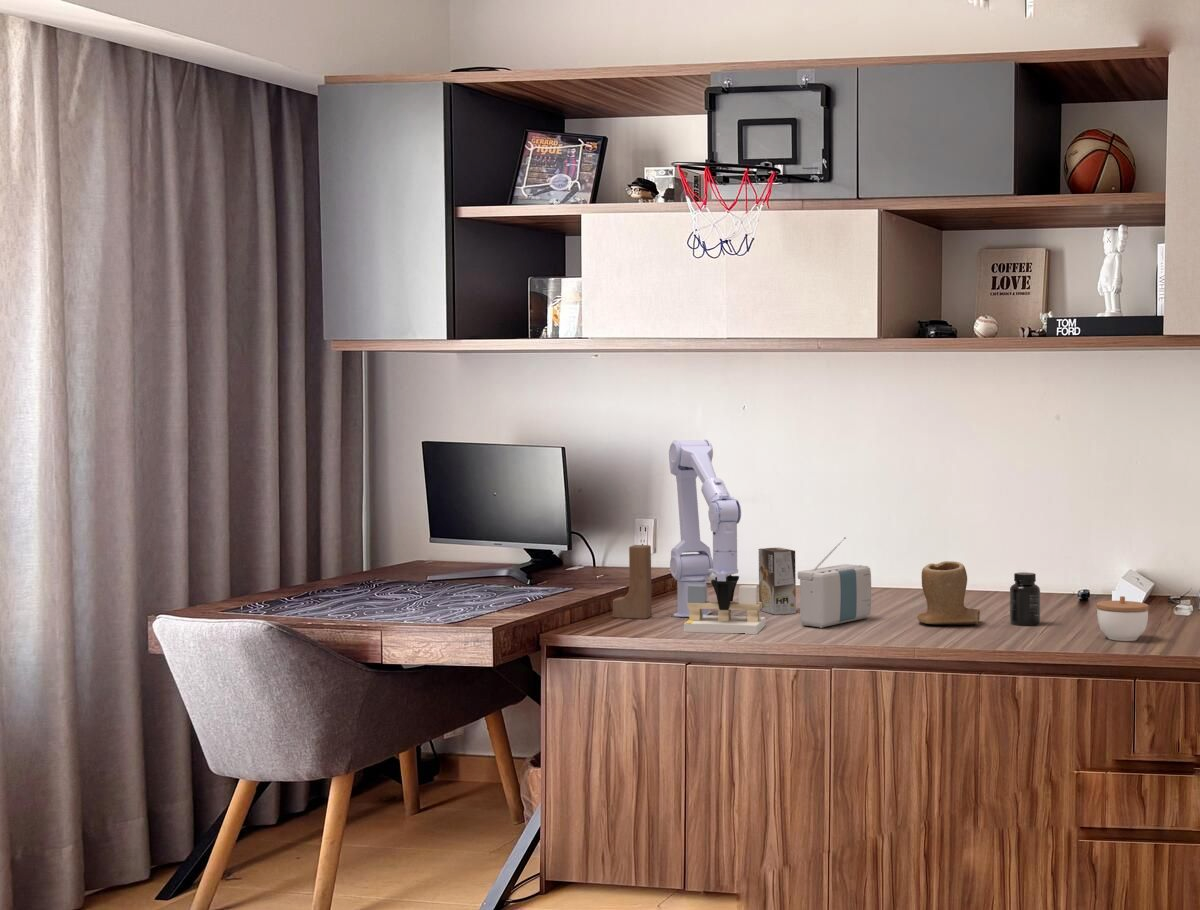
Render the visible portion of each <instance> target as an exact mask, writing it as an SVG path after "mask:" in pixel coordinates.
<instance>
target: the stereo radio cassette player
mask: <svg viewBox="0 0 1200 910" xmlns="http://www.w3.org/2000/svg"><path fill="white" fill-rule="evenodd" d="M846 539H847V537H846V536H844V537H843V539H842V540H841V541H840V542H838V543H837V545H836V546H835V547H833V549H831V550H830V551H829V552H828V553H827V555H826V556H824V558H822V559H821V561H820V562H819V563H818V564H817V565H816V566H815V567H814V568H812V569H806V570H800V571H797V579H798V580H799V603H800V605H799V607H800V609H799V611H800V612H799V613H800V614H799V615H800V616H799V617H800V619H799V620H800V622H801V625H802V626H804V627H806V626H808V627H815V628H819V629H823V628H826V627H830V626H834V625H839V624H843V623H847V622H848V623H849V622H854V621H858V620H865V619H867V617H868V616H871V613H872V572H871V568H870V566H868V565H862V564H861V565H860V564H849V563H848V564H847V563H845V564H844V563H843V564H837V565H831V566H825V567H820V566H821V565H822V564H823V563H824V562H825V561H826V560H827V559H828V557H830V556H831V554H833V552H834V551H836V549H837V547H839V546H840V545H841V543H842V542H843V541H844V540H846Z"/></svg>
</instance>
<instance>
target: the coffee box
mask: <svg viewBox="0 0 1200 910" xmlns="http://www.w3.org/2000/svg"><path fill="white" fill-rule="evenodd" d="M796 578H797V577H796V550H793V549H790V548H789V549H788V548H784V547H767V548H758V596H759V597H758V599H759V600H758V602H762V607H761V609H760V611H761V612H765V613H768V614H772V615H774V616H775V615H776V616H777V615H790V614H794V615H795V614H796V613H797V609H796V608H797V603H796V601H797V598H796V595H797V592H796V591H797V588H796V583H797V582H796V581H797V580H796Z"/></svg>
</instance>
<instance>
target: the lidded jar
mask: <svg viewBox="0 0 1200 910" xmlns="http://www.w3.org/2000/svg"><path fill="white" fill-rule="evenodd" d="M1149 607H1150V606H1149V604H1147V603H1144V602H1141V601H1132V600H1126V597H1125V596H1119V600H1103V601H1101V600H1100V601H1098V602H1096V611H1097V612H1096V616H1097V622H1098V626H1099V628H1100V630H1101V632H1102V633H1103V634H1104V636H1106V637H1107V639H1108V640H1111V641H1116V642H1133V641H1134V642H1135V641H1137V640H1138V638H1140V636H1142V635H1143V634H1144V632H1145V630H1146V628H1147V625H1148V620H1149V619H1148V618H1149Z"/></svg>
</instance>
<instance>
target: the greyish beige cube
mask: <svg viewBox="0 0 1200 910" xmlns="http://www.w3.org/2000/svg"><path fill="white" fill-rule="evenodd" d="M738 602H739V604H747V605H756V604H757V602H758V584H757V585H754V584H747V585H745V584H743V585H742V584H740V585H739V587H738Z"/></svg>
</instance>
